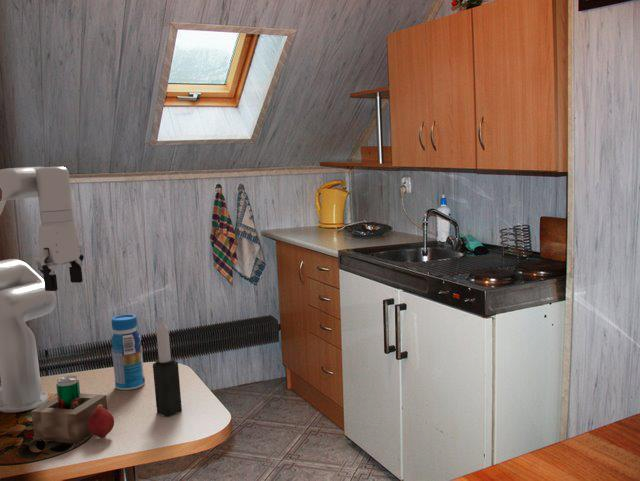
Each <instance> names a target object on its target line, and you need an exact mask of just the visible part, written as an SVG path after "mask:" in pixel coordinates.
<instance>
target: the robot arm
mask: <svg viewBox="0 0 640 481" xmlns="http://www.w3.org/2000/svg"><path fill="white" fill-rule="evenodd" d="M0 188H1V190H2V199H1V201H0V216H1V214H2V213H3V211H4V207H5V205H6V202H7V201H13V200H21V199H29V198H31V199H32V198H37V200H38V207H39V218H40V224H39V227H38V237H37V238H38V242H37V243H38V256H36V257H35V259H34V262H35V264H36V266H37V268H38V269H37V270H39V272H40V274H41V275H42V276H43V278H42V277H41V275H39V273H37V271H35V270H34V269H33V268H32V267H31V265H29V264H28V263H27V262H24V261H23V260H20V259H17V258H9V259H3V260H0V384H1V385H0V412H2V413H7V414H8V413H9V414H10V413H11V414H13V413H21V412H25V411H30V410H31V411H32V410H34V409H36V408H38V407H40V406H41V405H43V404H45V403H47V402H48V401H50V400H49V399H50V398H49V394H48V393H47V392H43V391H42V383H41V382H42V381H41V374H40V365H39V356H38V349H37V348H38V347H37V341H36V339H37V338H36V336H35V333H34V332H33V331H32V330H31V328H30V327H29V326H28V325H27V323H26V322H28V321H31V320H34V319H39V318H41V317H44V316H46V315H49V314H50V313H52V312H53V311H54V309H56V306H57V297H56V294H55V292H57V291H58V281H57V280H58V279H57V273H55V272H56V268H57V267H58V266H61V265H65V264H69V265H70V266H69V267H68V269H69V278H70V283H74V284H75V283H76V284H77V283H78V284H81V283H83V271H82V270H83V269H82V266H83V265H84V264H83V261H84V259H85V258H84V257H85V256H84V255H85V250H86V249H85V247H84V246H82V245H80V241H79V236H78V231H77V227H76V223H75V221H74V220H75V219H74V209H73V200H72V191H71V190H72V188H71V181H70V172H69V170H68V168H66V166H65V167H64V166H47V167H46V166H24V167H12V168H11V167H10V168H9V167H8V168H1V169H0Z"/></svg>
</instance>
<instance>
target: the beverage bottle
mask: <svg viewBox="0 0 640 481" xmlns="http://www.w3.org/2000/svg"><path fill="white" fill-rule="evenodd" d="M137 327H138V320H137V316H136V315H135V314H121V315H115V316H114V317H112V318H111V329H112V330H113V331H114V332H113V335H112V336H111V340H110V345H111V346H112V348H111V349H110V350H111V351H110V353H111V356H112V362H113V363H112V364H113V365H112V366H113V371H114V372H113V374H114V387H115V389H118V390H119V391H131V390H136V389H140V388H141V387H143V386H144V385H145V383H146V379H145V371H144V362H143V361H144V360H143V359H144V358H143V346H142V344H141V341H142V337H141V335H140V333H139V331H138V330H137Z"/></svg>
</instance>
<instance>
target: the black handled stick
mask: <svg viewBox="0 0 640 481" xmlns="http://www.w3.org/2000/svg"><path fill="white" fill-rule="evenodd" d="M169 330H170V329H169V327H168V326H167V324H166V323H165V320H164V315H159V322H158V325H157V327H156V329H155V332H156V340H157V354H158V359H156V360H155V362H153V364H152V371H153V372H152V373H153V382H154V383H153V384H154V391H155V393H154V395H155V403H156V404H155V406H156V414H158V415H162V416H163V417H165V418H167V417H171V416H174V415H176V414H180V413H181V412H182V411H183V407H182V397H181V382H180V371H179V362H178V361H176V360H175V358H172V356H171V346H170V345H171V344H170V334H169V332H170V331H169Z"/></svg>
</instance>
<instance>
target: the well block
mask: <svg viewBox="0 0 640 481" xmlns="http://www.w3.org/2000/svg"><path fill="white" fill-rule="evenodd" d="M80 395H81V405H80V406H78V407H76V408H75V409H59V405H58V396H56V397H54V398H52V399H51V400H48V401H47V402H46V403H45V404H43V405H41V406H39V407H37V408H34V409H32V410H31V411H30V413H31V420H32V421H31V422H32V427H33V428H32V430H33V437H34V440H35V439H41V440H40V441H42V440H45V441H46V442H53V441H56V442H55V443H65V444H66V443H67V444H77V445H78V444H80V443H82V442H83V441H85V440H87V438H89V437H91V436H93V434H91V432H90V431H89V429H88V419H89V417H90V415H91V414H92V412H93V411H94V410H96V409H97V407H98V405H103V408H104V409H106V410H108V411H109V408H108V407H109V405H108V398H107V397H108V396H107V394H95V393H81V392H80ZM45 441H44V442H45Z"/></svg>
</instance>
